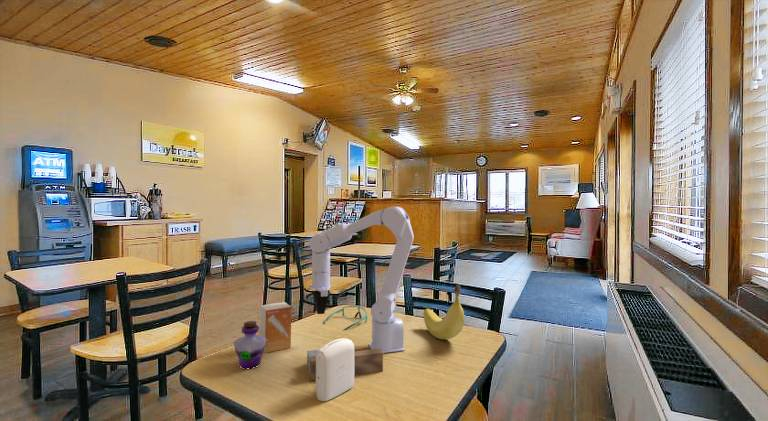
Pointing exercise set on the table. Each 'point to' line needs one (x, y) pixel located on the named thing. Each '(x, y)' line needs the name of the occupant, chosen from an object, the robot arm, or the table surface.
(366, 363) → the walnut board
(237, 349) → the potion bottle
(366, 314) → the safety glasses
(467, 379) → the table surface
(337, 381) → the photo printer
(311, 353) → the slate block
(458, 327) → the banana
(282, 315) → the small box
